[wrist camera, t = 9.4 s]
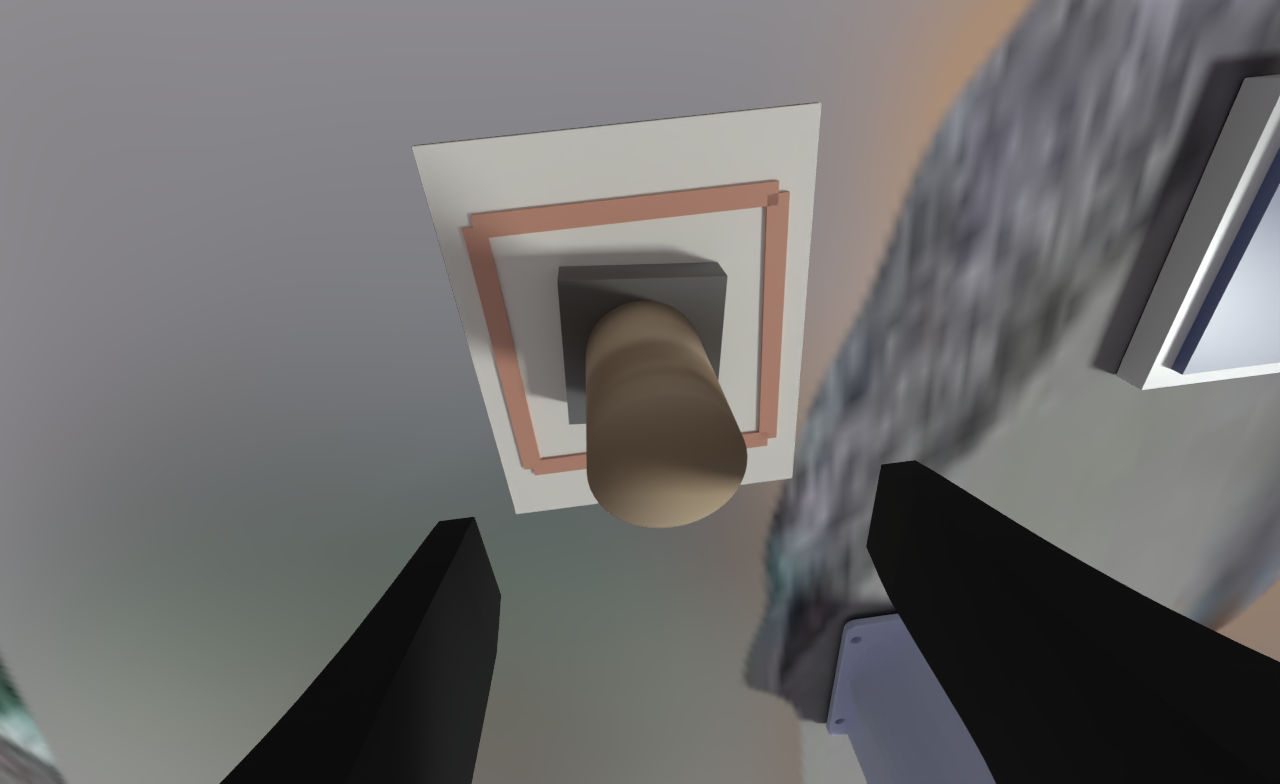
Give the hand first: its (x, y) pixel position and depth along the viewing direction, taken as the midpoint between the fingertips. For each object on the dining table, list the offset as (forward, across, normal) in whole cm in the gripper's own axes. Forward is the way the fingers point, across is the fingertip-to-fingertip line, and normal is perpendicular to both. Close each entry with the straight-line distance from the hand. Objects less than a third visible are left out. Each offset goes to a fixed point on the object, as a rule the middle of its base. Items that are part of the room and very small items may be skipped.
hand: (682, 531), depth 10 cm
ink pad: (+8, -20, -1) cm, 21 cm away
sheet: (+8, 0, 0) cm, 8 cm away
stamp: (+8, 0, 0) cm, 8 cm away
